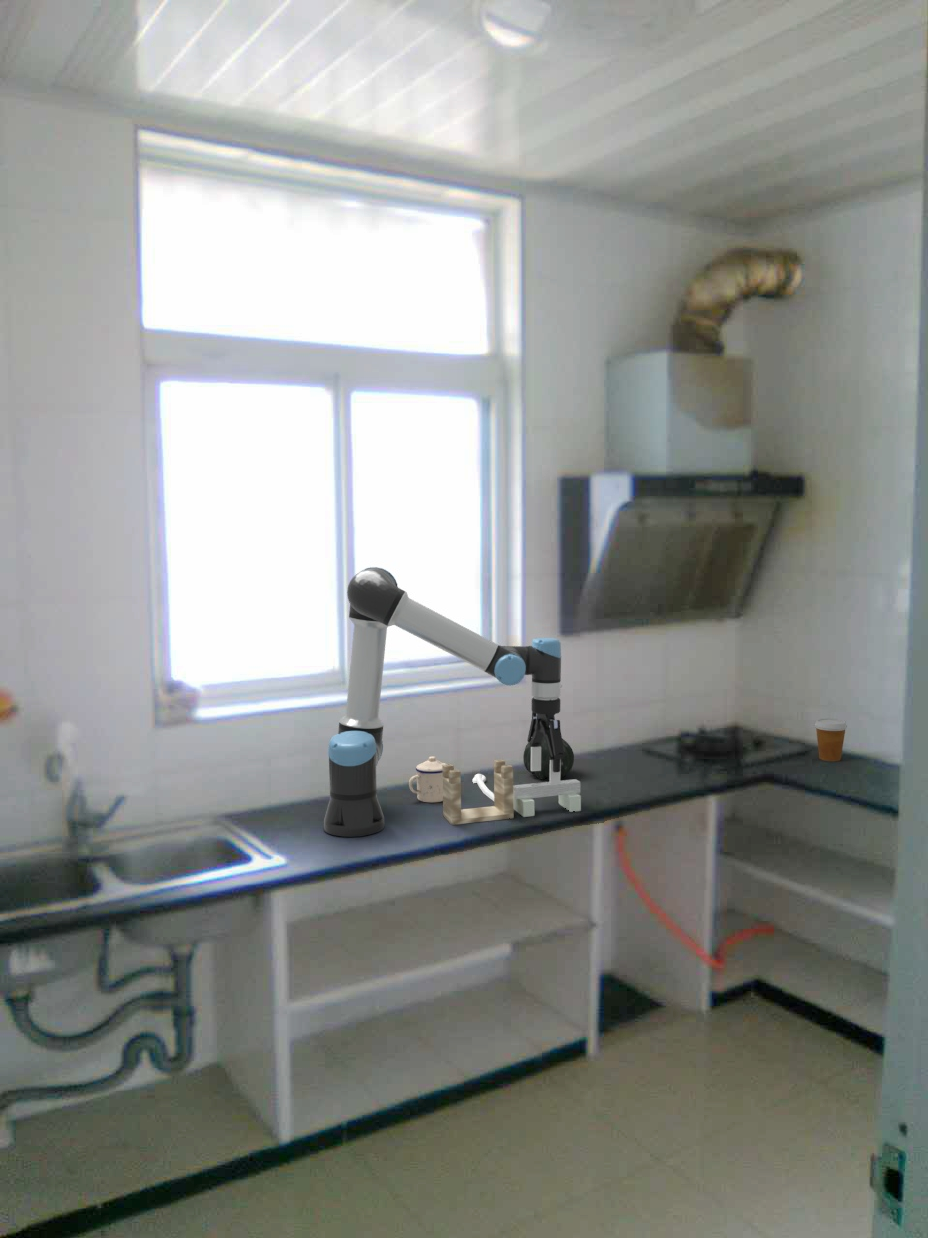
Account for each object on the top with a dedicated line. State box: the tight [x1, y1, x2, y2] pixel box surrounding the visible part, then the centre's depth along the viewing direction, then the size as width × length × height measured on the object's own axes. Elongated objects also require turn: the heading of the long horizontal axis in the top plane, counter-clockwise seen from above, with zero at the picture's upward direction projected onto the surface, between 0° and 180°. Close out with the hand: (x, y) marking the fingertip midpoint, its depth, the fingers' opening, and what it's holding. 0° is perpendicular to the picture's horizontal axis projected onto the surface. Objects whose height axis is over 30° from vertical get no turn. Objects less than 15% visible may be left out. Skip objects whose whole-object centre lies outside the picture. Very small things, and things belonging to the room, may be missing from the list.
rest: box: [513, 793, 582, 818], centre depth 261 cm, size 16×8×4 cm, turn 107°
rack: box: [442, 759, 514, 826], centre depth 255 cm, size 16×8×14 cm, turn 107°
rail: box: [513, 778, 581, 800], centre depth 261 cm, size 18×3×3 cm, turn 107°
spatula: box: [471, 773, 494, 802], centre depth 278 cm, size 28×4×3 cm, turn 15°
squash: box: [523, 736, 575, 780], centre depth 294 cm, size 14×15×15 cm
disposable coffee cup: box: [814, 718, 848, 762], centre depth 309 cm, size 10×10×12 cm
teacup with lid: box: [408, 756, 448, 803], centre depth 272 cm, size 12×9×12 cm
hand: (545, 777), depth 261 cm, fingers open, 13 cm apart
